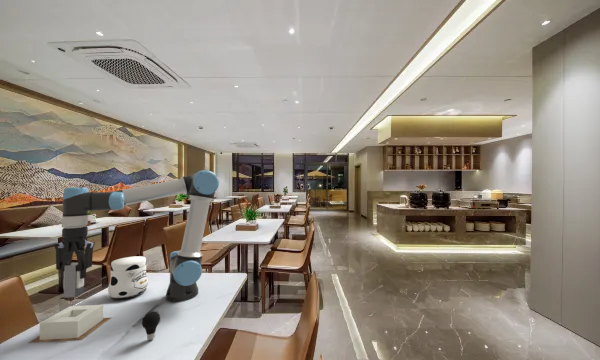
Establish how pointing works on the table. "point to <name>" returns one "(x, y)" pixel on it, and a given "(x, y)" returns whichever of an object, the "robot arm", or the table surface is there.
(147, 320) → the light bulb
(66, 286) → the brushed grey pillar
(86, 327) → the well
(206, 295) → the table surface
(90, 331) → the board
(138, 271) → the milk container
